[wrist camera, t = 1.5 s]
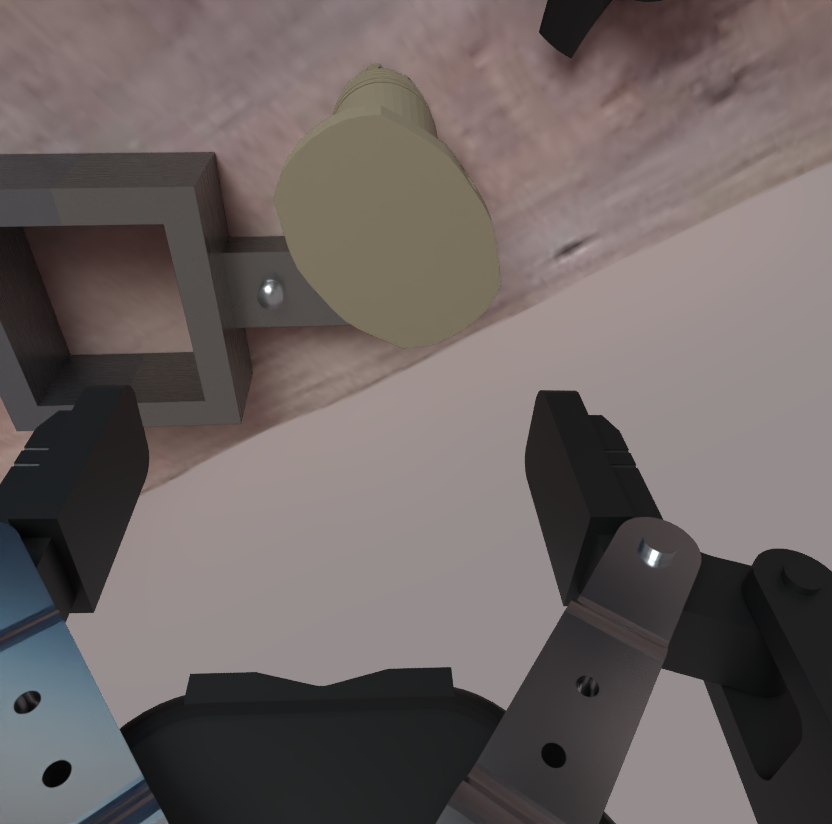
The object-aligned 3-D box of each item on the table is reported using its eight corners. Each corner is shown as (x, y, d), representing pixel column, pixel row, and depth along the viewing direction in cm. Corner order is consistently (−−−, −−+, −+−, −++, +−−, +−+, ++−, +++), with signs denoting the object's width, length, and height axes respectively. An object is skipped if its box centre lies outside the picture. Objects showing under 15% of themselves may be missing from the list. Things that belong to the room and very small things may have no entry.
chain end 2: (152, 376, 36) (130, 427, 33) (88, 153, 29) (50, 188, 26) (395, 369, 37) (399, 418, 34) (392, 150, 30) (396, 183, 26)
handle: (380, -6, 26) (395, 71, 14) (466, 131, 30) (535, 284, 18) (288, 72, 28) (233, 200, 16) (380, 194, 31) (391, 374, 19)
